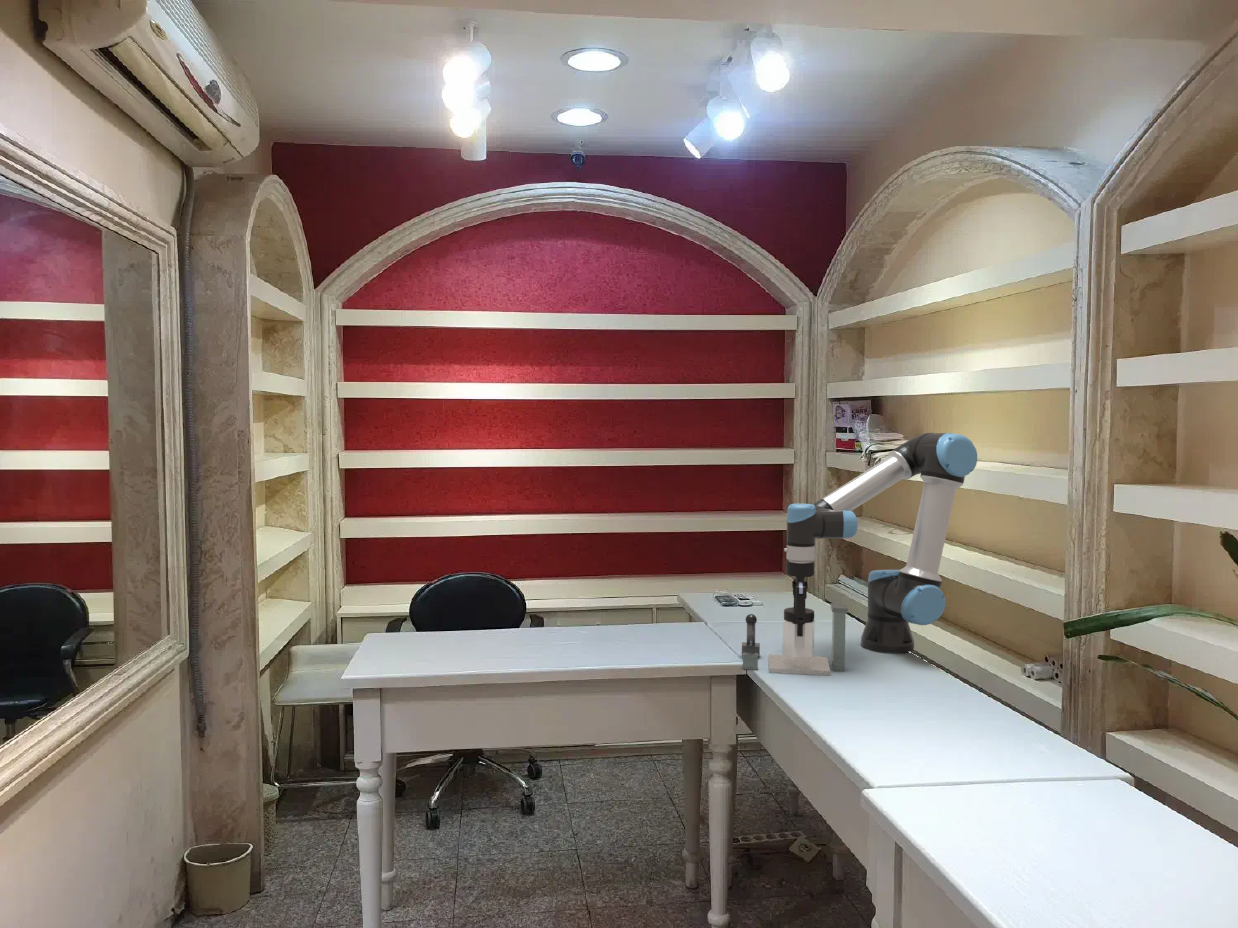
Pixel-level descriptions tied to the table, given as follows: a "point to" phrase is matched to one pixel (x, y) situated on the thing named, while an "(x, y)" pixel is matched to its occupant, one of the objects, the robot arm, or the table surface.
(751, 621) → the lever
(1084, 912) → the table surface
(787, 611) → the jar
